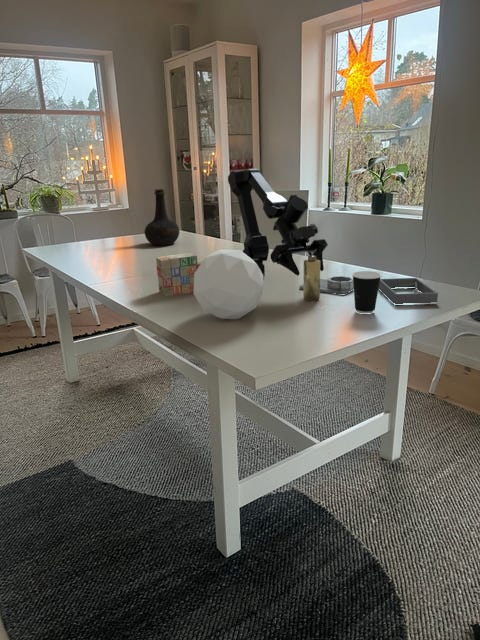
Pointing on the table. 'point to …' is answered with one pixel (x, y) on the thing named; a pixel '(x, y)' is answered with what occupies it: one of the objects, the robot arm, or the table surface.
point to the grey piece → (335, 285)
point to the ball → (228, 284)
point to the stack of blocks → (177, 273)
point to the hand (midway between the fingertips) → (310, 272)
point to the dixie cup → (365, 290)
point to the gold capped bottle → (311, 279)
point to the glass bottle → (161, 224)
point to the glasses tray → (424, 297)
